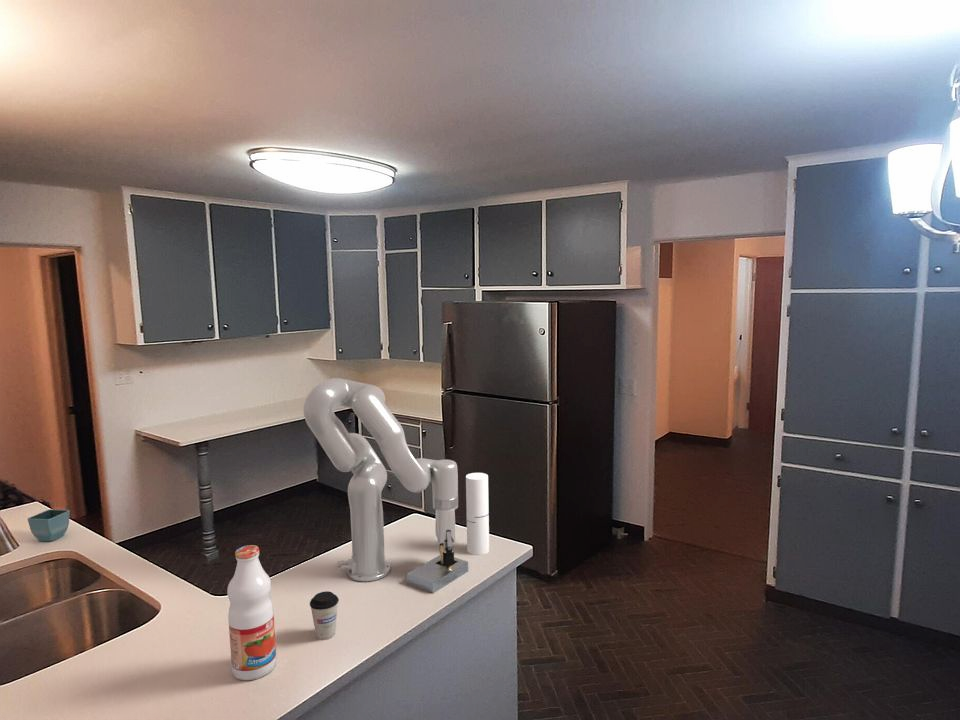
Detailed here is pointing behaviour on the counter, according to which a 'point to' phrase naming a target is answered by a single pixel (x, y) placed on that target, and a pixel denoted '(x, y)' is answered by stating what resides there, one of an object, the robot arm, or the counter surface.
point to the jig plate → (436, 574)
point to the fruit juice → (251, 617)
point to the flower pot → (49, 524)
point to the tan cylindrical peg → (442, 555)
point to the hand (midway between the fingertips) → (446, 558)
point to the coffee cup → (324, 614)
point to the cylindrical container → (477, 513)
